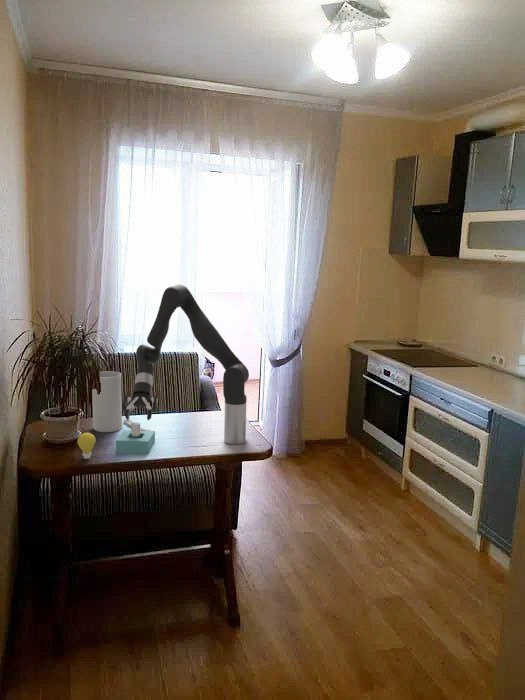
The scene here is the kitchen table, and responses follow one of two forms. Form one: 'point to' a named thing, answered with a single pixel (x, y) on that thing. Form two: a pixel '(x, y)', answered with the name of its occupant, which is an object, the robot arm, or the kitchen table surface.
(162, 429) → the kitchen table surface
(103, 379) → the cylinder vase
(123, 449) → the socket block
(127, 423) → the adjustable wrench
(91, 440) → the light bulb
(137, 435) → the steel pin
